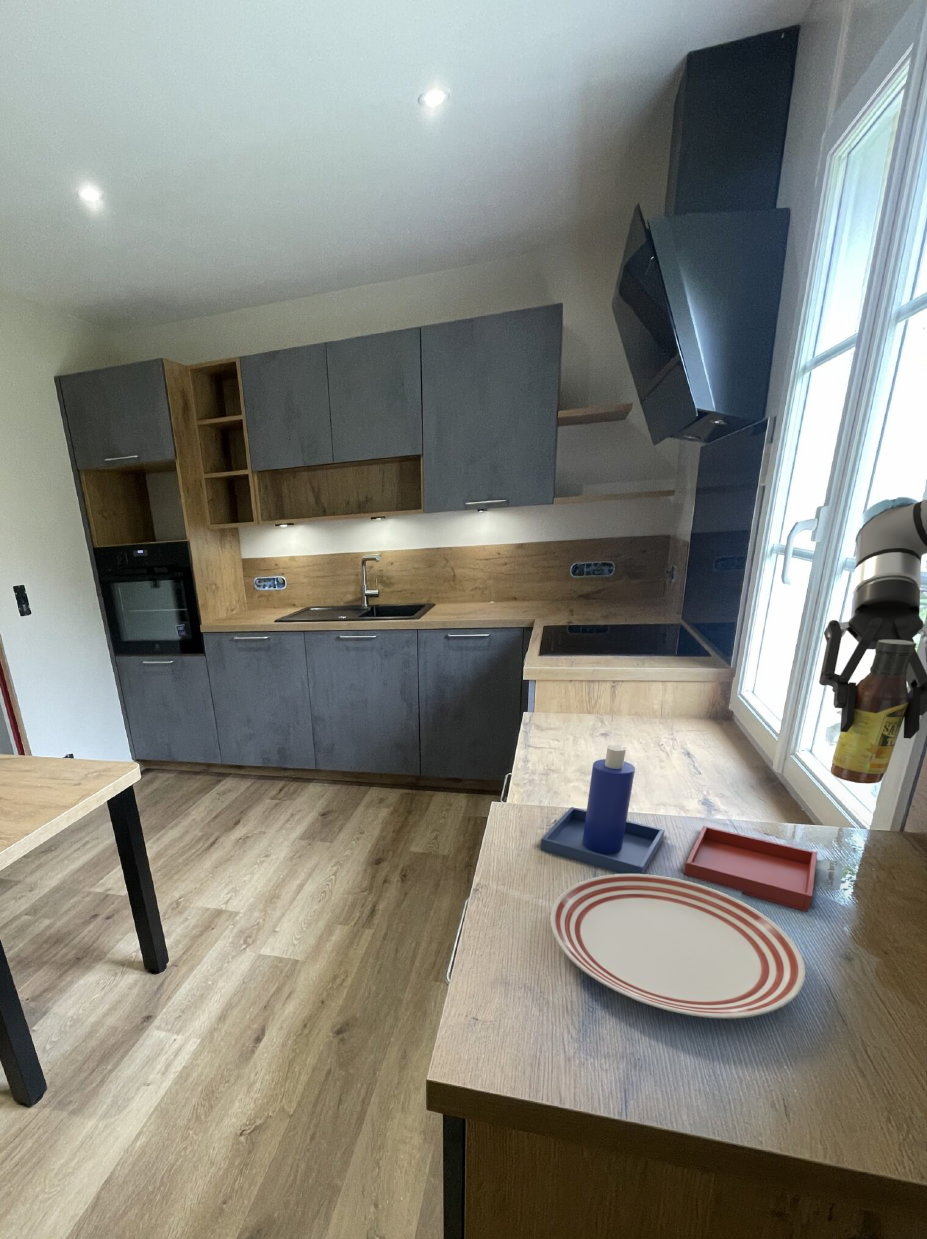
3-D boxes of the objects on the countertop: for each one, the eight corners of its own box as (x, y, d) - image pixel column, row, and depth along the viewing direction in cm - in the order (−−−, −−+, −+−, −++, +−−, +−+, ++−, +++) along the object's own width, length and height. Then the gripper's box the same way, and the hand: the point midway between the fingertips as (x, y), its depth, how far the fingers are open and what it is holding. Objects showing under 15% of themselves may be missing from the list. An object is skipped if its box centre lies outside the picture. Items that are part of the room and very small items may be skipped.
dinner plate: (557, 1016, 67) (560, 992, 66) (542, 881, 92) (544, 862, 90) (847, 1059, 61) (857, 1034, 59) (748, 901, 85) (753, 881, 84)
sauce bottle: (876, 789, 86) (922, 648, 78) (822, 777, 90) (861, 642, 83) (888, 777, 89) (933, 640, 82) (836, 765, 94) (874, 635, 86)
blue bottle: (626, 842, 100) (642, 745, 94) (615, 858, 96) (632, 757, 89) (589, 832, 104) (602, 738, 97) (577, 847, 99) (590, 749, 93)
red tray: (812, 866, 93) (817, 852, 92) (807, 912, 83) (812, 896, 82) (700, 838, 102) (703, 825, 101) (682, 877, 91) (685, 862, 90)
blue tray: (662, 843, 101) (664, 829, 100) (639, 882, 91) (642, 867, 90) (569, 819, 110) (571, 806, 109) (539, 852, 99) (541, 838, 98)
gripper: (959, 611, 89) (958, 752, 82) (799, 606, 98) (786, 734, 91) (986, 577, 83) (988, 726, 76) (813, 575, 92) (800, 709, 85)
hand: (878, 730), depth 84 cm, fingers closed on sauce bottle, 6 cm apart
